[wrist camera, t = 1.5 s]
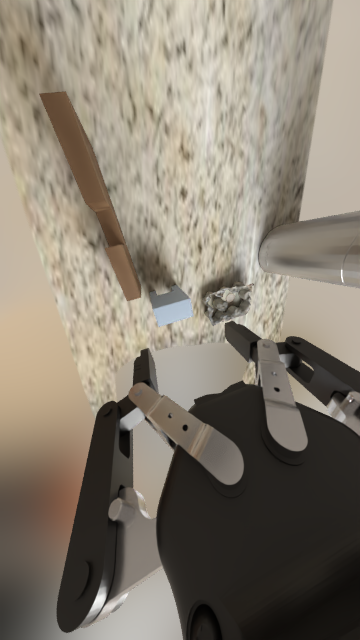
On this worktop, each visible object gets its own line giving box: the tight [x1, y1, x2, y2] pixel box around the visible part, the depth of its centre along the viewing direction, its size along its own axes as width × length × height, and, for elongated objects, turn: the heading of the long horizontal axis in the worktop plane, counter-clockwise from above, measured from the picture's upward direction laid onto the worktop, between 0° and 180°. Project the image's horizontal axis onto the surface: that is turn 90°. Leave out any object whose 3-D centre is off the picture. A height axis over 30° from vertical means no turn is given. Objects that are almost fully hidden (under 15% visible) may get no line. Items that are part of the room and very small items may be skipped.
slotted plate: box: [39, 92, 141, 301], centre depth 18 cm, size 2×18×7 cm, turn 12°
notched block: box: [150, 285, 193, 327], centre depth 24 cm, size 6×3×9 cm, turn 102°
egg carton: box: [202, 282, 254, 326], centre depth 30 cm, size 11×8×4 cm
